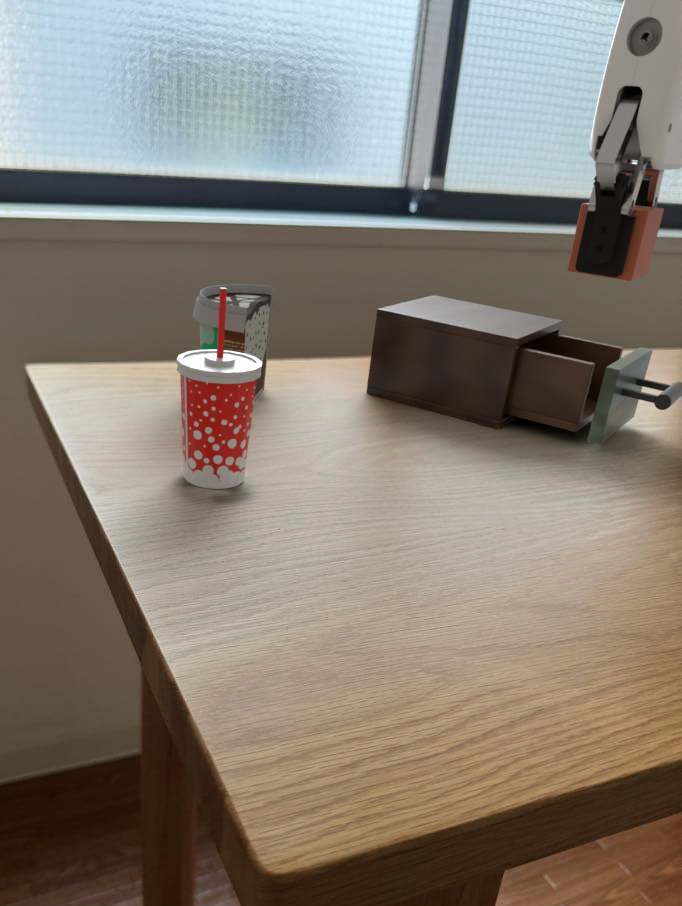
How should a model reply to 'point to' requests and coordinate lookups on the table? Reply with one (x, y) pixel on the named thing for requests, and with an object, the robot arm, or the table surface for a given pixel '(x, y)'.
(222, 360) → the beverage cup
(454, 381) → the cabinet
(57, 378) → the table surface
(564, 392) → the drawer
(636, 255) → the block
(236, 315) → the food container
